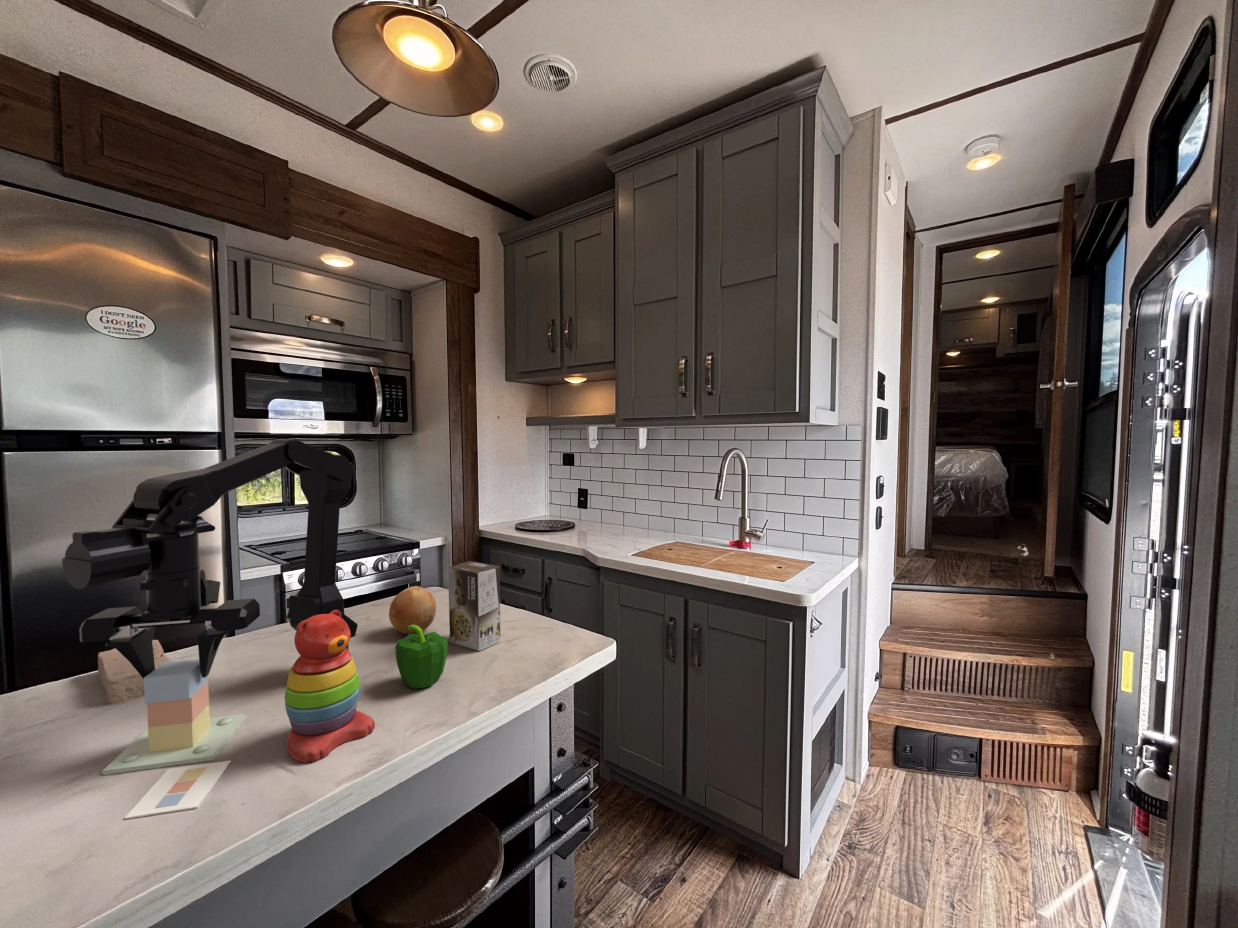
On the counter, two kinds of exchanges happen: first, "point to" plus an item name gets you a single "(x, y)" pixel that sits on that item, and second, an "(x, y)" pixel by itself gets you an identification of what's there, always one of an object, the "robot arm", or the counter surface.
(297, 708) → the stacking bear
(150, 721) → the brick terracotta
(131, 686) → the brick
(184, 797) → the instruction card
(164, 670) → the brick slate
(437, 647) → the bell pepper
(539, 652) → the counter surface
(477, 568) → the coffee box
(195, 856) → the counter surface
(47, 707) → the counter surface
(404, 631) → the onion
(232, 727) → the plate
